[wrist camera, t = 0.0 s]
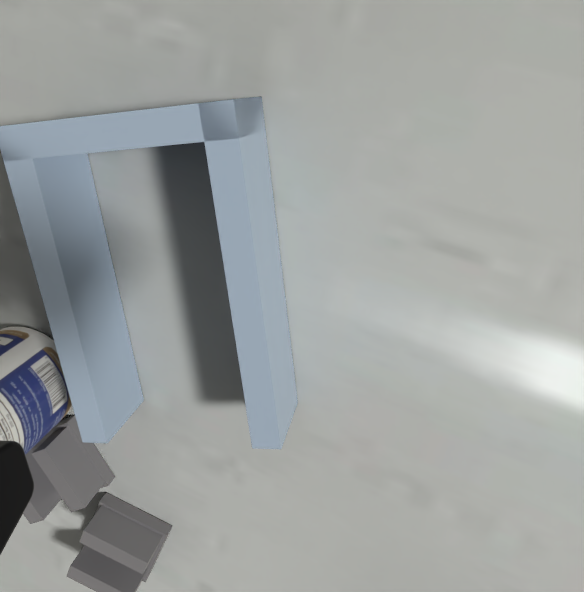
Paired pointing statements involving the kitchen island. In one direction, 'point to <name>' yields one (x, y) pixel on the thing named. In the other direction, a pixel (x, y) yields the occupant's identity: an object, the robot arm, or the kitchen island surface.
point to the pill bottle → (30, 386)
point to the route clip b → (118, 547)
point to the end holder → (99, 268)
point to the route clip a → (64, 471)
